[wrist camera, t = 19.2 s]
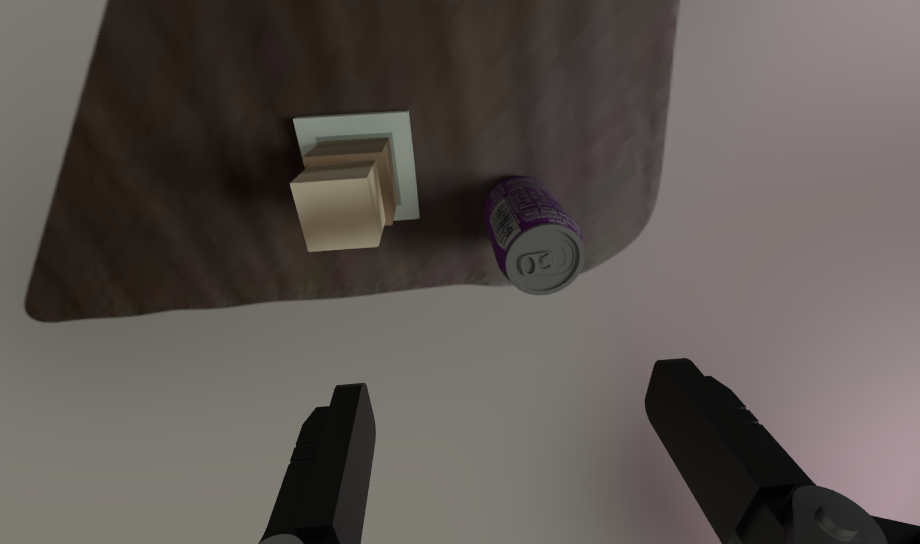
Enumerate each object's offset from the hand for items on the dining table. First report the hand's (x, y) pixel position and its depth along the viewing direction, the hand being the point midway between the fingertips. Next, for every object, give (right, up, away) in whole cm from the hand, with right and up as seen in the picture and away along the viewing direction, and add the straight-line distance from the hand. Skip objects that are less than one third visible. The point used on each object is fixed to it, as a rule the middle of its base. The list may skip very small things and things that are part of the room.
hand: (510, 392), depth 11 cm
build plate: (-11, +13, +26) cm, 31 cm away
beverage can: (+4, +10, +29) cm, 31 cm away
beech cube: (-10, +10, +20) cm, 25 cm away
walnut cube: (-11, +13, +25) cm, 30 cm away
